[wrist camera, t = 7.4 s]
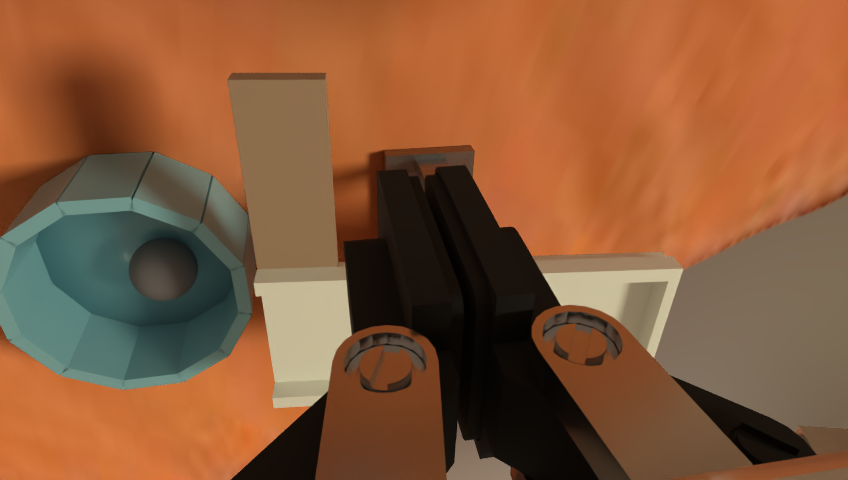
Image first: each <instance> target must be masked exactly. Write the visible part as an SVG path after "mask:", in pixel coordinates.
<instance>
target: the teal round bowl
mask: <svg viewBox="0 0 848 480" xmlns="http://www.w3.org/2000/svg"><path fill="white" fill-rule="evenodd" d="M156 238H172V239H176V240H178V241H181V242H182V243H184V244H186V245H187V246H188V247H189V248H190V249H191V250H192V252H193V253H194V255H195V257H196V259H197V263H198V274H197V278H196V281H195V283H194V284H193V286H192V287H191V289H190V290H189V291H188V292H186V293H185V294H184V295H182V296H180V297H178V298H176V299H173V300H168V301H157V300H153V299H149V298H147V297H145V296H143V295H142V294H140V293H139V292H138V291H137V290H136V289H135V287H134V286H133V284H132V283H131V280H130V277H129V263H130V260H131V257H132V255H133V254H134V252H135V251H136V250H137V249H138V248H139V247H140V246H141V245H142V244H144V243H145V242H147V241H150V240H152V239H156ZM255 266H256V258H255V252H254V245H253V239H252V233H251V226H250V220H249V217H248V214H247V213H246V212H245V211H244V210H243V209H242V207H241V206H240V205H239V204H238V203H237V202H236V201H235V200H234V198H233V197H232V196H231V195H230V194H229V193H228V192H227V191H226V189H225V188H224V187H223V186H222V185H221V184H220V183H219V182H218V180H217V179H216V178H215V177H214V176H213V177H211V174H209V173H206V172H204V171H201V170H199V169H196V168H194V167H191V166H189V165H186V164H184V163H181V162H179V161H176V160H174V159H171V158H169V157H166V156H164V155H161V154H159V153H156V152H154V155H153V153H152V152H135V153H117V154H98V155H89V157H88V156H86V157H85V158H83V159H82V160H80V161H78V162H77V163H75V164H74V165H72V166H71V167H69V168H68V169H66V170H64V171H63V172H61V173H60V174H58V175H57V176H55V177H54V178H52V179H50V180H49V181H47V182H46V183H44V184H43V185H41V186H40V188H39V189H38V190H37V191H36V193H35V194H34V195H33V197H32V198H31V199H30V200H29V202H28V203H27V204H26V205H25V207H24V208H23V209H22V211H21V212H20V213H19V214H18V216H17V217H16V218H15V220H14V221H13V222H12V223H11V225H10V226H9V227H8V228H7V230H6V231H5V232H4V234H3V235H2V236H1V237H0V325H1V327H2V329H3V331H4V333H5V336H6V338H7V340H9V339H10V341H9V342H11V343H12V344H14V345H15V346H17V347H18V348H20V349H21V350H22V351H24V352H25V353H27V354H28V355H30V356H31V357H33V358H34V359H36V360H37V361H39V362H40V363H42V364H43V365H45V366H46V367H48V368H49V369H50V370H52V371H53V372H55V373H56V374H58V375H60V374H62V375H61V376H63V377H67V378H72V379H76V380H81V381H85V382H90V383H94V384H99V385H103V386H108V387H112V388H117V389H121V390H122V388H123V387H124V390H126V389H134V388H142V387H150V386H158V385H166V384H173V383H181V382H182V381H184V382H185V381H186V380H188V379H190V378H192V377H193V376H195V375H197V374H199V373H200V372H202V371H204V370H205V369H207V368H209V367H211V366H212V365H214V364H216V363H218V362H219V361H221V360H223V359H224V358H226V357H228V356H229V355H230V354H231V352H232V350H233V349H234V347H235V345H236V343H237V341H238V340H239V338H240V336H241V334H242V332H243V330H244V329H245V327H246V325H247V323H248V321H249V320H250V318H251V316H252V310H253V295H254V280H255Z"/></svg>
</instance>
